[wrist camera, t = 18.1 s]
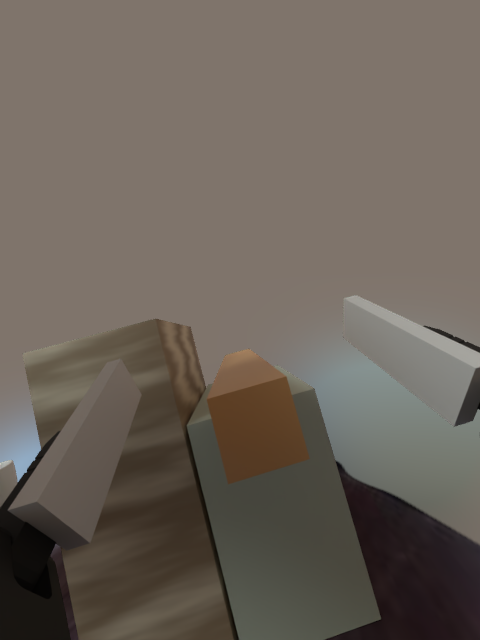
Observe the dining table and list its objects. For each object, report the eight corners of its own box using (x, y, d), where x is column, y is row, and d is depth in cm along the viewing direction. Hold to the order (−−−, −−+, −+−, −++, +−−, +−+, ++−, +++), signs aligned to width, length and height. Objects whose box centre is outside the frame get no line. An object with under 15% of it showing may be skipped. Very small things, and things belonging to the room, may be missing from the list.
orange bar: (309, 458, 10) (286, 376, 10) (228, 484, 10) (206, 399, 10) (255, 372, 34) (248, 348, 34) (231, 379, 34) (225, 355, 34)
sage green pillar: (381, 619, 18) (314, 388, 19) (245, 667, 17) (186, 425, 19) (311, 486, 34) (277, 365, 35) (239, 509, 33) (207, 384, 35)
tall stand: (241, 669, 17) (155, 318, 19) (95, 722, 17) (22, 353, 19) (237, 510, 33) (190, 326, 35) (162, 533, 33) (119, 345, 35)
